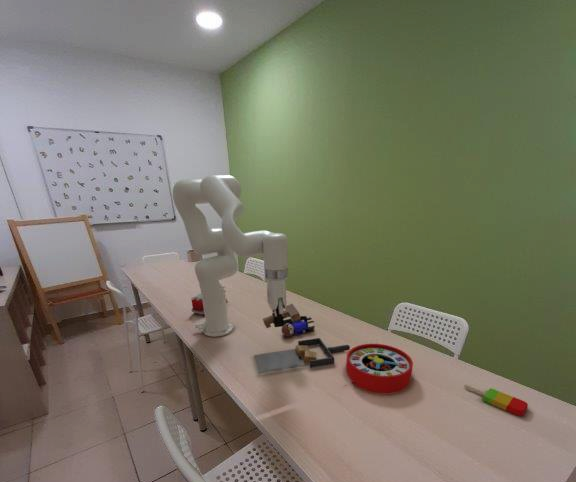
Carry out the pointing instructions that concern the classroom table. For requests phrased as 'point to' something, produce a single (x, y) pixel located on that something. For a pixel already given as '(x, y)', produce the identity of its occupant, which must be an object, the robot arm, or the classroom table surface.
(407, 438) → the classroom table surface
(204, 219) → the robot arm
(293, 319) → the brush
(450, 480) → the classroom table surface
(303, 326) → the character figurine
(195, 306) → the toy fire truck
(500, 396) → the popsicle
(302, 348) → the cork chip
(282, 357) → the tray
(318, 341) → the dustpan
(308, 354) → the cork chip
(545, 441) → the classroom table surface
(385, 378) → the toy clock
